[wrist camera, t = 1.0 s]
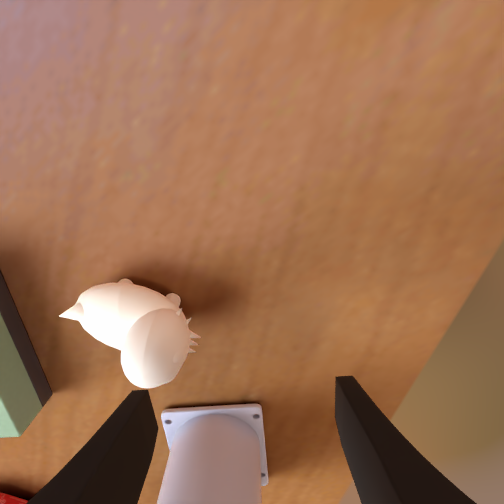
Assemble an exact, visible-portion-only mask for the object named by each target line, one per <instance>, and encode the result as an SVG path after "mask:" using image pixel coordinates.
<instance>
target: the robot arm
mask: <svg viewBox="0 0 504 504" xmlns="http://www.w3.org/2000/svg"><path fill="white" fill-rule="evenodd" d="M254 414H257V415H254ZM161 419H162V423H163V427H164V430H165V434H166V438H167V442H168V446H169V450H170V454H169V458H168V462H167V466H166V470H165V474H164V478H163V481H162V485H161V489H160V493H159V497H158V501H157V504H262V500H261V486H265V485H267V484H268V482H269V481H268V469H267V458H266V447H265V437H264V426H263V415H262V407H261V405H259V404H256V403H254V404H238V405H222V406H206V407H190V408H174V409H165V410H163V412H162V414H161ZM335 419H336V423H337V428H338V432H339V436H340V440H341V444H342V448H343V451H344V454H345V457H346V459H347V462H348V465H349V468H350V471H351V474H352V477H353V480H354V483H355V486H356V488H357V491H358V494H359V497H360V500H361V503H362V504H476V503H475V502H474V501H473V500H471V499H470V498H469V497H468V496H467V495H465V494H464V493H463V492H462V491H460V490H459V489H458V488H457V487H456V486H455V485H454V484H453V483H452V482H450V481H449V480H448V479H447V478H446V477H445V476H443V474H442V473H440V472H439V471H438V470H437V469H436V468H435V467H434V466H433V465H432V464H431V463H430V462H429V461H428V460H426V458H424V457H423V456H422V455H421V454H420V453H419V452H418V451H417V450H416V449H415V448H414V447H413V445H412V444H411V443H409V441H408V440H407V439H406V438H405V437H404V436H403V435H402V434H401V433H400V432H399V431H398V430H397V429H396V427H394V425H393V424H392V423H391V422H390V421H389V420H388V418H387V417H386V416H385V415H384V414H383V413H382V412H381V410H380V409H379V408H378V407H377V406H376V405H375V403H374V402H373V401H372V400H371V398H370V397H369V396H368V395H367V393H366V392H365V391H364V390H363V388H362V387H361V386H360V384H359V383H358V382H357V380H356V379H355V378H354V377H353V376H340V377H336V387H335ZM157 432H158V425H157V421H156V418H155V414H154V410H153V407H152V403H151V399H150V396H149V392H148V390H136V391H132V392H131V393H130V394H129V395H128V396H127V397H126V398H125V400H124V401H123V402H122V403H121V404H120V405H119V407H118V408H117V409H116V410H115V411H114V412H113V414H112V415H111V416H110V417H109V418H108V419H107V421H106V422H105V423H104V424H103V425H102V426H101V427H100V429H99V430H98V431H97V432H96V433H95V434H94V435H93V436H92V438H91V439H90V440H89V441H88V442H87V443H86V444H85V445H84V446H83V448H82V449H81V450H80V451H79V452H78V453H77V454H76V455H75V456H74V457H73V458H72V459H71V460H70V461H69V462H68V463H67V464H66V465H65V467H64V468H63V469H62V470H61V471H60V472H59V473H58V474H57V475H56V476H55V477H54V478H53V479H52V480H51V481H50V482H49V483H47V484H46V485H45V486H44V487H43V488H42V489H41V490H40V491H39V492H38V493H37V494H36V495H35V496H34V497H32V498H31V499H30V500H29V501H28V502H27V503H26V504H137V503H138V500H139V497H140V494H141V491H142V488H143V485H144V481H145V478H146V475H147V472H148V469H149V466H150V463H151V460H152V456H153V452H154V447H155V442H156V437H157Z"/></svg>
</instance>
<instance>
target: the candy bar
mask: <svg viewBox="0 0 504 504" xmlns="http://www.w3.org/2000/svg"><path fill="white" fill-rule="evenodd" d="M27 502H28V501H27V500H24V499H21V498H18V497H15V496H11V495H8V494H4V493H0V504H26V503H27Z"/></svg>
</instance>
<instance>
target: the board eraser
mask: <svg viewBox="0 0 504 504" xmlns="http://www.w3.org/2000/svg"><path fill="white" fill-rule="evenodd" d="M51 396H52V392H51V389H50V387H49V385H48V382H47V380H46V378H45V375H44V373H43V371H42V368H41V366H40V363H39V361H38V359H37V356H36V354H35V352H34V349H33V347H32V345H31V342H30V340H29V338H28V335H27V333H26V331H25V328H24V326H23V323H22V321H21V319H20V316H19V314H18V312H17V309H16V307H15V305H14V302H13V300H12V298H11V295H10V293H9V291H8V288H7V286H6V283H5V281H4V279H3V276H2V274H1V272H0V438H4V437H20V436H21V435H22V434H23V432H24V431H25V430H26V428H27V427H28V426H29V425H30V423H31V422H32V421H33V419H34V418H35V417H36V415H37V414H38V413H39V411H40V410H41V409H42V407H43V406H44V405H45V404H46V402H47V401H48V400H49V398H50V397H51Z"/></svg>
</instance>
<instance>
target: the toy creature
mask: <svg viewBox="0 0 504 504" xmlns="http://www.w3.org/2000/svg"><path fill="white" fill-rule="evenodd" d="M180 302H181V300H180V297H179V296H178V295H177V294H175V293H170V294H168V295H167V296H166V297H165V296H164V295H162V294H161V293H159V292H156V291H154V290H151V289H149V288H146V287H144V286H139V285H134V284H133V282H132V281H131V280H129V279H121V280H120V281H119V282H118V283H112V282H110V283H105V284H101V285H96V286H93V287H91V288H90V289H88V290H86V291H85V292H83V293H81V295H80V296H79V298H78V300H77V302H76V304H75V305H74V306H72V307H71V308H69V309H68V310H67V311H65V312H64V313H62V314H61V315H60V317H64V318H69V319H73V320H78V321H79V322H80V323H81V325H82V327H83V328H84V329H85V330H86V331H87V332H88V333H90V334H91V335H92V336H93V337H94V338H96V339H97V340H99V341H101V342H103V343H104V344H106V345H108V346H111V347H114V348H116V349H119V350H121V364H122V368H123V371H124V374H125V375H126V377H127V378H128V379H129V381H130V382H131V383H133V384H134V385H136V386H138V387H141V388H154V387H158V386H160V385H162V384H166V383H169V382H170V381H172V380H173V379H174V378H175V377H176V376H177V374H178V372H179V370H180V368H181V367H182V365H183V363H184V361H185V360H186V358H187V355H188V353H195V352H196V351H194V350H192V349H191V348H189V345H199V344H197V343H196V342H194V341H193V340H191V339H190V338H202V337H200V336H199V335H197V334H196V333H194V332H192V331H191V330H189V327H188V323H189V322H190V320H191V318H192V317H191V318H189V319H187V320H186V318H185V316H184V314H183V312H182V308H181V309H180V308H179V305H180Z"/></svg>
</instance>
